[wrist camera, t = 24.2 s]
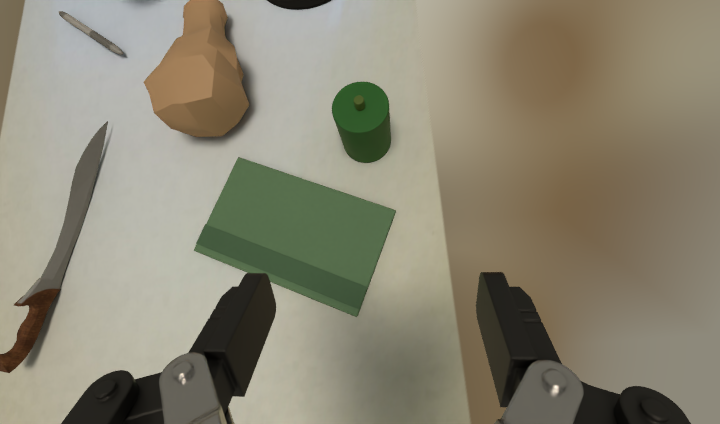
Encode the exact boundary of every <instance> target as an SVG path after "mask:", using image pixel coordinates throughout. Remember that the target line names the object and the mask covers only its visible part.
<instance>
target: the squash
mask: <svg viewBox="0 0 720 424" xmlns="http://www.w3.org/2000/svg"><path fill="white" fill-rule="evenodd" d="M183 18H184V29H183V35H182V36H181V37H179V38H177V39H176V40H175V41H174V43H173V44H172V46H171V47H170V49H169V50H168V52H167V53H166V55H165V56H164V58H163V60H162V61H161V63H160V64H159V65H158V66H157V67H156V68H155V69H154V71H153V72H152V73H151V74H150V75H149V76H148V77H147V79H146V80H145V81H144V84H145V86H146V88H147V90H148V92H149V94H150V98H151V102H152V106H153V110H154V113H155V114H156V115H157V116H158V117H159V118H160V119H161V120H162V121H163V122H165V123H166V124H167V125H168V126H169V127H170V128H171V129H174V130H177V131H180V132H183V133H186V134H189V135H192V136H195V137H209V136H223V135H224V134H225V133H227V132H228V131H229V130H230V129H232V128H233V127H234V126H235V125H236V124H238V123H239V121H240V119H241V118H242V116H243V114H244V113H245V111H246V110H247V108H248V106H249V102H248V100H247V97H246V94H245V91H244V89H243V86H242V83H241V81H242V78H243V75H244V74H243V72H242V69H241V67H240V64H239V62H238V59H237V56H236V52H235V48H234V46H233V45H232V44H231V43H230V42H229V41H228V40H227V39H226V38H225V28H224V27H225V24H226V21H227V18H228V17H227V14H226V11H225V9H224V6H223V3H221V2H220V1H219V0H190V1H189V2H187V3H186V5H185V6H184V12H183Z"/></svg>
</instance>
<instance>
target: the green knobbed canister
mask: <svg viewBox="0 0 720 424" xmlns="http://www.w3.org/2000/svg"><path fill="white" fill-rule="evenodd" d="M332 114H333V117H334V120H335V123H336V126H337V128H338V131H339V134H340V137H341V140H342V142H343V145H344V148H345V151H346V152H347V154H348V155H349V156H350V157H351V158H352V159H354V160H356V161H358V162H363V163H369V162H374V161H377V160H379V159H380V158H382V157H383V156H384V155H385V154H386V153H387V151H388V149H389V147H390V143H391V133H390V115H389V101H388V98H387V96H386V94H385V92H384V91H383V90H382V89H381V88H380V87H378V86H377V85H375V84H373V83H369V82H355V83H352V84H349V85H347V86H345V87H344V88H343V89H341V90H340V91H339V92H338V94H337V95H336V97H335V99H334V101H333V104H332Z"/></svg>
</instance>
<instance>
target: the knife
mask: <svg viewBox="0 0 720 424" xmlns="http://www.w3.org/2000/svg"><path fill="white" fill-rule="evenodd" d="M107 124H108V121H107V122H106V123H105V124H104V125H103V126H102V127H101V128H100V129H99V130H98V132H97V133H96V134H95V135H94V137H93V138H92V139H91V141H90V143H89V144H88V146H87V147H86V149H85V151H84V152H83V154H82V156H81V158H80V160H79V162H78V164H77V166H76V169H75V173H74V177H73V181H72V186H71V192H70V197H69V202H68V206H67V211H66V215H65V220H64V224H63V227H62V230H61V233H60V236H59V239H58V242H57V245H56V248H55V250H54V253H53V255H52V257H51V259H50V261H49V263H48V265H47V267H46V269H45V271H44V273H43V274H42V276H41V278H39V279H38V280H37V281H36V282H35V283H34V285H33V286H32V287H31V288H30V289H29V290H28V292H27V293H26V294H25V295H24V296H23V297H22V298H20V299H19V300H18V301H17V302H16V303H15V304H14V305H15V306H26V305H28V306H29V313H28V315H27V317H26V319H25V320H24V322H23V323H22V324H21V326H20V328H19V330H18V333H17V341H16V343H15V344H14V346H13V348H12V349H11V350H10V351H8V352H7V353H5V354H0V371H2V372H7V373H10V372H11V371H13V370H14V369H15V368H16V367H17V366H18V365H19V364H20V363H21V362H22V361H23V360H24V359H25V358H26V356H27V355H28V353H29V352H30V350H31V349H32V347H33V345H34V343H35V341H36V339H37V337H38V335H39V332H40V330H41V327H42V325H43V322H44V319H45V317H46V314H47V311H48V309H49V307H50V305H51V303H52V302H53V300H54V298H55V297H56V295H57V293H58V292H59V291H60V290H61V289H60V287H61V282H62V278H63V276H64V273H65V270H66V267H67V264H68V261H69V258H70V256H71V253H72V250H73V247H74V245H75V243H76V240H77V238H78V235H79V233H80V230H81V228H82V224H83V221H84V218H85V215H86V212H87V208H88V205H89V202H90V199H91V195H92V191H93V187H94V183H95V179H96V175H97V171H98V166H99V162H100V158H101V154H102V150H103V145H104V140H105V135H106V130H107Z"/></svg>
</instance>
